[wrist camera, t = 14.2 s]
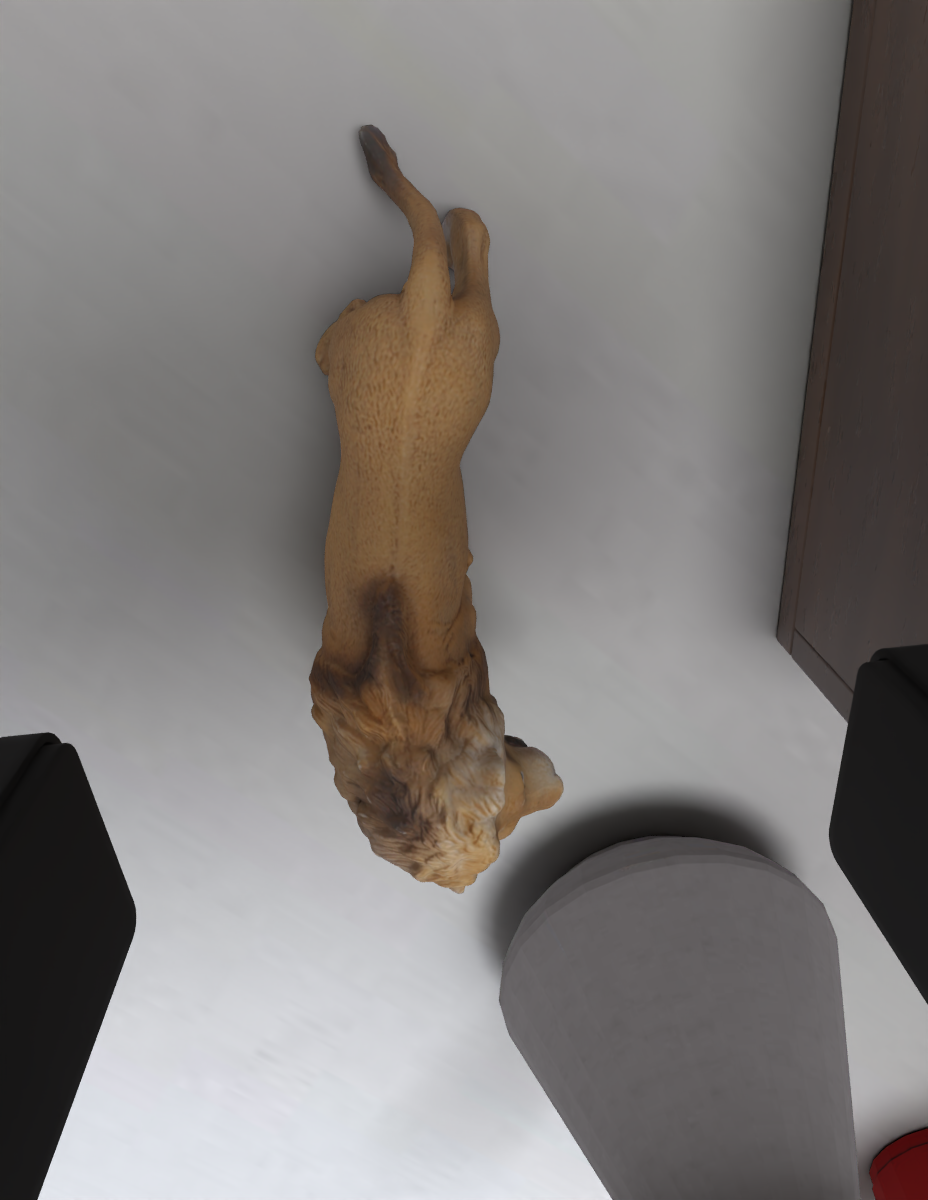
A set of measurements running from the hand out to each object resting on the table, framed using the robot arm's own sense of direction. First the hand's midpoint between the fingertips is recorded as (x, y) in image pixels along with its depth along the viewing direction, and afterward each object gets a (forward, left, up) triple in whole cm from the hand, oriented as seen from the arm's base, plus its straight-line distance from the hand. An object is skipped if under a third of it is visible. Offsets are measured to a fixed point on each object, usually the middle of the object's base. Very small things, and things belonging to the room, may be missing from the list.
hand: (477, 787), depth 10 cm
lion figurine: (0, 0, -13) cm, 13 cm away
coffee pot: (+4, -22, -13) cm, 26 cm away
